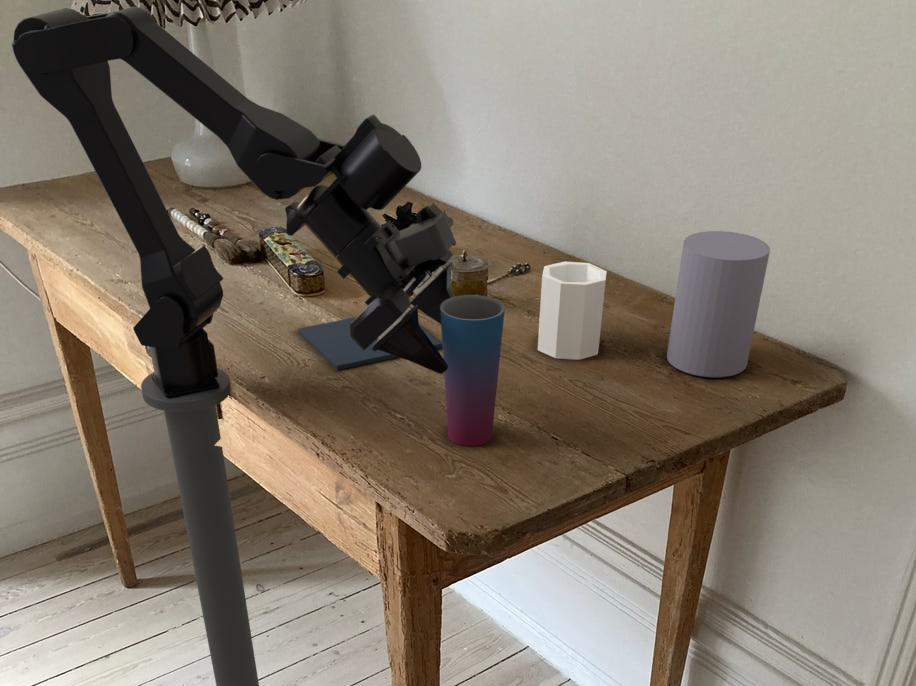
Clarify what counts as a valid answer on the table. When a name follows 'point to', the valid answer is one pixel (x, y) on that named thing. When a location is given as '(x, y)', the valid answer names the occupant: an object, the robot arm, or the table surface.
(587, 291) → the white octagonal pot
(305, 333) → the placemat
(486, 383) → the cup
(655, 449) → the table surface
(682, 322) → the container
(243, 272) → the table surface
